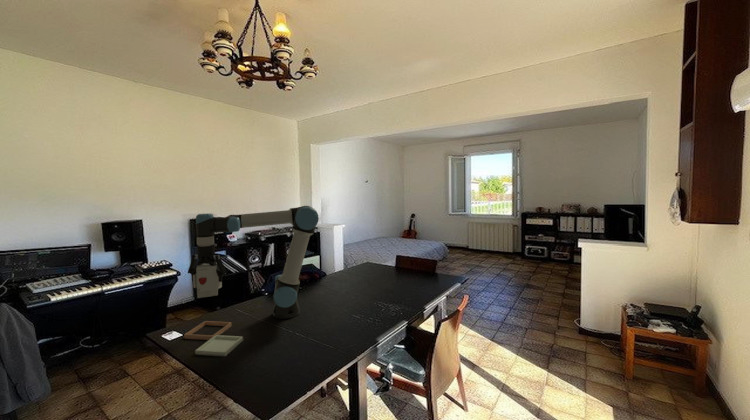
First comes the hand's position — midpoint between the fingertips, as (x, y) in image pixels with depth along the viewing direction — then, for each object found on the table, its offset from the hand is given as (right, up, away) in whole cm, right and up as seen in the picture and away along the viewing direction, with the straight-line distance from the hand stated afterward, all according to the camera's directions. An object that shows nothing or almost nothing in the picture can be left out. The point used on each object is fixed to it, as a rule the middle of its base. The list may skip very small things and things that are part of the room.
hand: (207, 287), depth 150 cm
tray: (+13, -24, -12) cm, 30 cm away
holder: (-1, -23, +2) cm, 23 cm away
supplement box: (0, -4, 0) cm, 4 cm away
